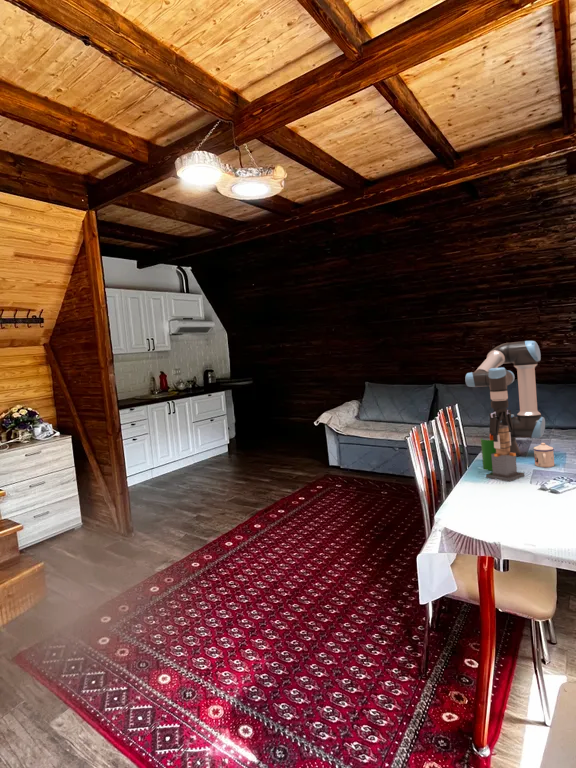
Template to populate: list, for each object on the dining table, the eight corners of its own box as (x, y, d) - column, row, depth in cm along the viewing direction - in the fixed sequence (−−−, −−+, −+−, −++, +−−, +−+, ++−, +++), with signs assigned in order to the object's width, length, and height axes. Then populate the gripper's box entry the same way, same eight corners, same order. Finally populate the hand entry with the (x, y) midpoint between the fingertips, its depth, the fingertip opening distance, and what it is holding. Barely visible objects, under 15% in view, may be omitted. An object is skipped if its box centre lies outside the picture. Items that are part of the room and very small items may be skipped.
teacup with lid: (534, 463, 230) (532, 441, 230) (554, 463, 226) (552, 441, 226) (534, 468, 220) (533, 445, 219) (555, 469, 215) (554, 445, 215)
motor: (501, 466, 231) (498, 428, 230) (507, 470, 222) (504, 431, 221) (481, 467, 232) (478, 430, 231) (487, 471, 223) (484, 432, 222)
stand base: (501, 472, 219) (499, 448, 219) (524, 476, 209) (522, 451, 208) (486, 477, 213) (484, 452, 212) (509, 481, 203) (507, 455, 202)
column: (503, 471, 214) (499, 425, 213) (512, 472, 210) (508, 425, 209) (497, 472, 212) (493, 426, 211) (506, 474, 208) (502, 427, 207)
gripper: (504, 397, 218) (508, 442, 219) (478, 402, 207) (482, 449, 208) (519, 397, 211) (522, 443, 212) (493, 402, 201) (496, 451, 202)
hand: (502, 446), depth 210 cm, fingers open, 8 cm apart
